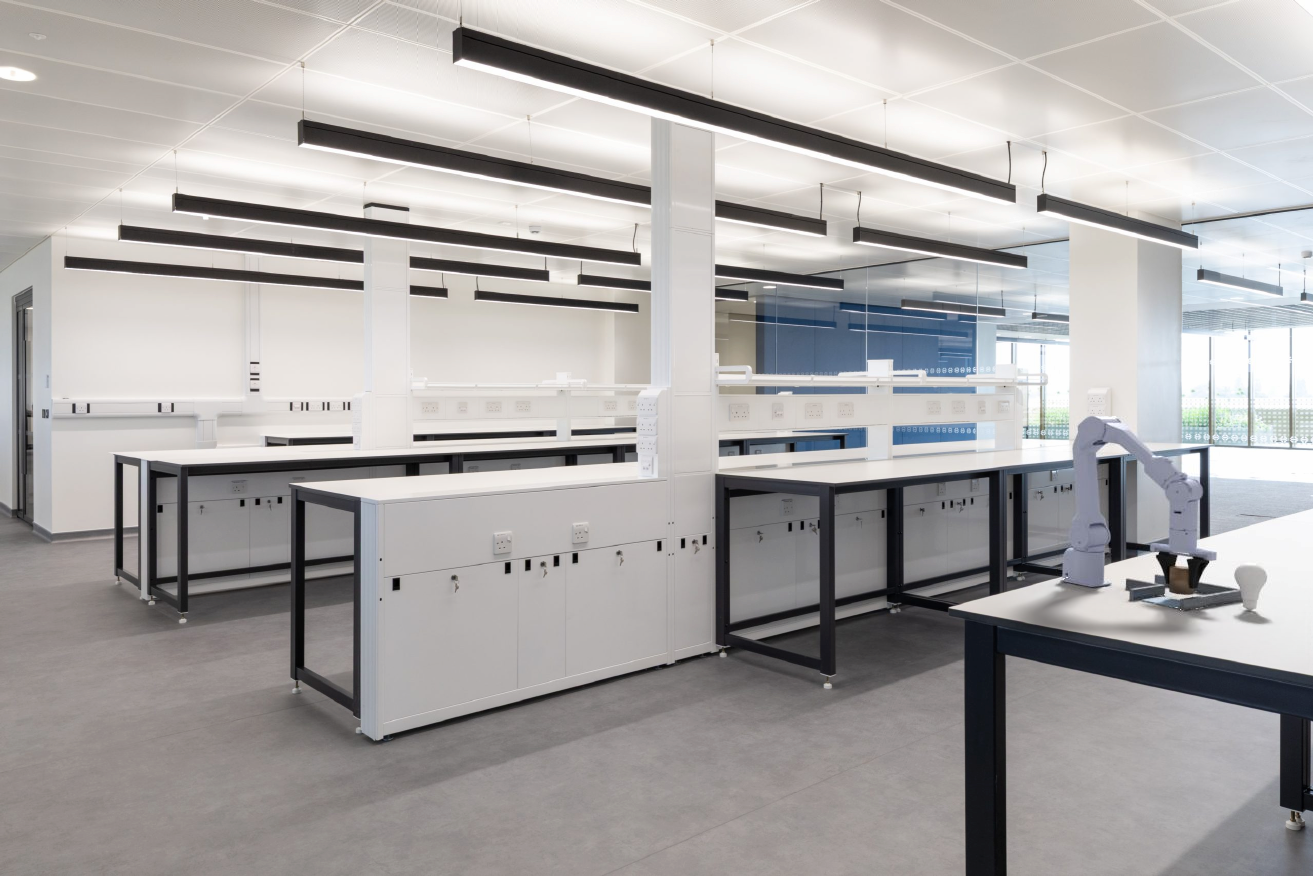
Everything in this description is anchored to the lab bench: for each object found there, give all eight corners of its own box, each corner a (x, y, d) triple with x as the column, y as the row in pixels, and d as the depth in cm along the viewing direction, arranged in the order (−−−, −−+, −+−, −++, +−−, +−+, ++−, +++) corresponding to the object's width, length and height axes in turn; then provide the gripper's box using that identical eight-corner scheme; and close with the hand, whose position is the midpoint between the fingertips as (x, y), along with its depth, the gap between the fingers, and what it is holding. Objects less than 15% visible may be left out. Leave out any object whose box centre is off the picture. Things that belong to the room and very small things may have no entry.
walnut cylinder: (1164, 591, 204) (1165, 566, 204) (1176, 589, 207) (1177, 565, 206) (1185, 595, 200) (1186, 570, 200) (1198, 593, 202) (1198, 568, 202)
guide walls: (1096, 592, 212) (1097, 582, 212) (1156, 583, 223) (1157, 574, 223) (1184, 610, 193) (1184, 600, 193) (1244, 600, 204) (1245, 590, 204)
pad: (1141, 601, 203) (1142, 599, 203) (1162, 597, 206) (1162, 596, 206) (1175, 608, 196) (1175, 606, 196) (1196, 604, 199) (1196, 603, 199)
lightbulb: (1227, 609, 195) (1228, 561, 195) (1243, 606, 198) (1245, 559, 197) (1255, 614, 190) (1257, 566, 189) (1272, 612, 192) (1273, 564, 192)
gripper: (1224, 532, 198) (1223, 590, 199) (1163, 524, 211) (1161, 578, 211) (1207, 534, 195) (1205, 593, 195) (1145, 526, 208) (1144, 581, 208)
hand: (1181, 585), depth 203 cm, fingers closed on walnut cylinder, 5 cm apart
